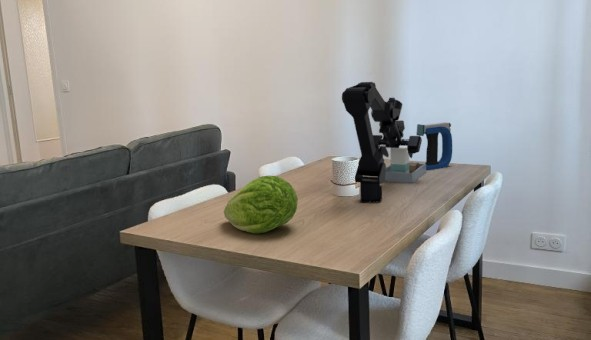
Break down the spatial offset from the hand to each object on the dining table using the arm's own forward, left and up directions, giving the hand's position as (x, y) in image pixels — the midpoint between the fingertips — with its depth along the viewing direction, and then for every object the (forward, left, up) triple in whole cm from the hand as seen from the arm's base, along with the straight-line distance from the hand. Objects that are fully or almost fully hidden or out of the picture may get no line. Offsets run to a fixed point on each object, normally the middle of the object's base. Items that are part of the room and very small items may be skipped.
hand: (399, 156), depth 192 cm
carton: (0, 0, -8) cm, 8 cm away
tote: (+1, +4, -9) cm, 10 cm away
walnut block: (+3, +9, -8) cm, 13 cm away
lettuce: (-42, -59, -9) cm, 73 cm away
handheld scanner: (+15, +19, -9) cm, 26 cm away
